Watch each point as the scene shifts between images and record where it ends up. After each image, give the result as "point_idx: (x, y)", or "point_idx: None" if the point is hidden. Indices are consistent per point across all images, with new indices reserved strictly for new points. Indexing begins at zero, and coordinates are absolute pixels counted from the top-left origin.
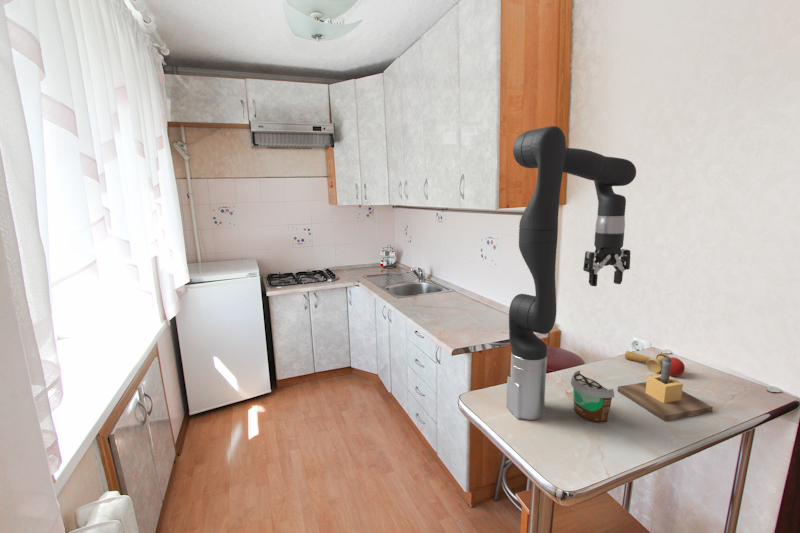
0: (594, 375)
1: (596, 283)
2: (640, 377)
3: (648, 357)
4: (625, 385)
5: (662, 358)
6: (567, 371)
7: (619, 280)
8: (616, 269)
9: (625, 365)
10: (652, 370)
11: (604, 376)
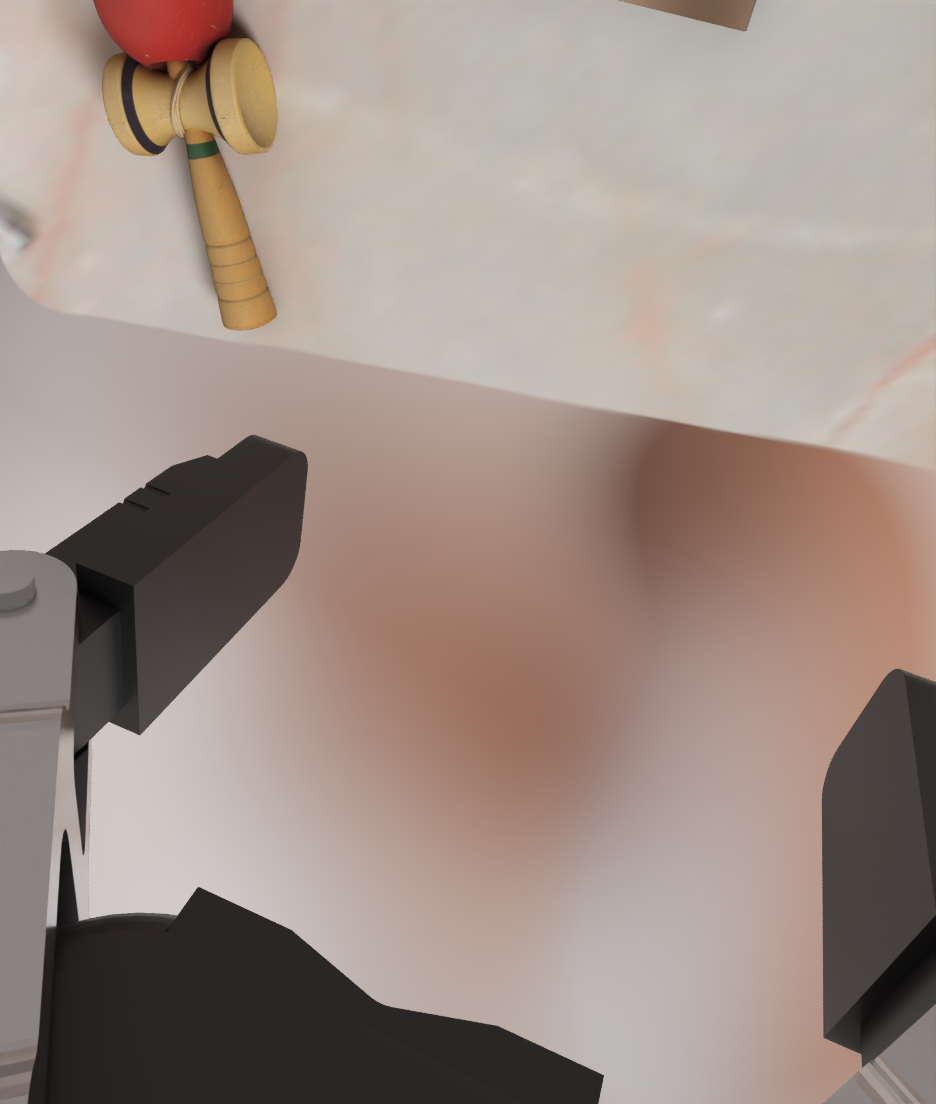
0: (649, 281)
1: (919, 709)
2: (412, 88)
3: (201, 182)
4: (676, 11)
5: (154, 94)
6: (746, 418)
7: (259, 479)
8: (88, 733)
9: (349, 257)
10: (269, 105)
11: (606, 234)
